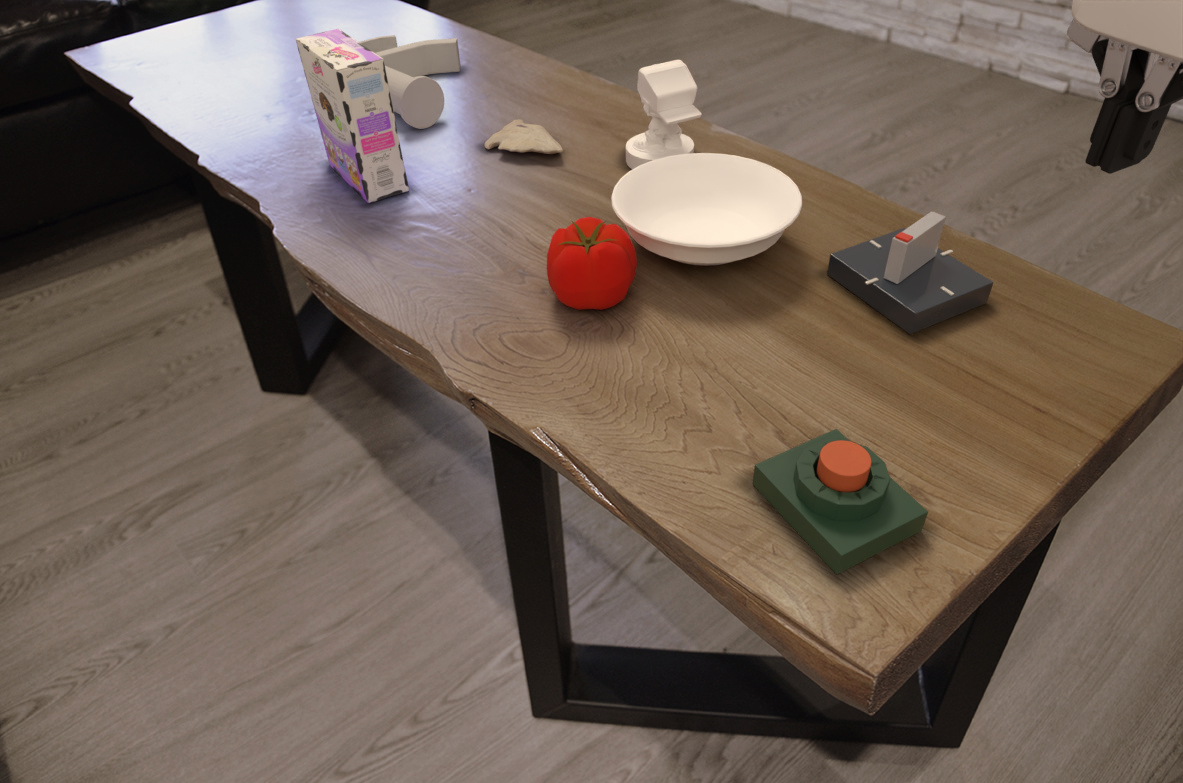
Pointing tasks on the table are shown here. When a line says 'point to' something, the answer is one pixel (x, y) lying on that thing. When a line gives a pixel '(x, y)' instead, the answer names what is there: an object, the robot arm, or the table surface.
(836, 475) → the button
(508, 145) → the decorative stone
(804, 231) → the table surface
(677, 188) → the bowl
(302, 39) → the candy box
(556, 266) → the tomato
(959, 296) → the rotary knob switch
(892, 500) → the green button base
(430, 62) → the faucet
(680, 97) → the character figurine
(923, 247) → the grey block
